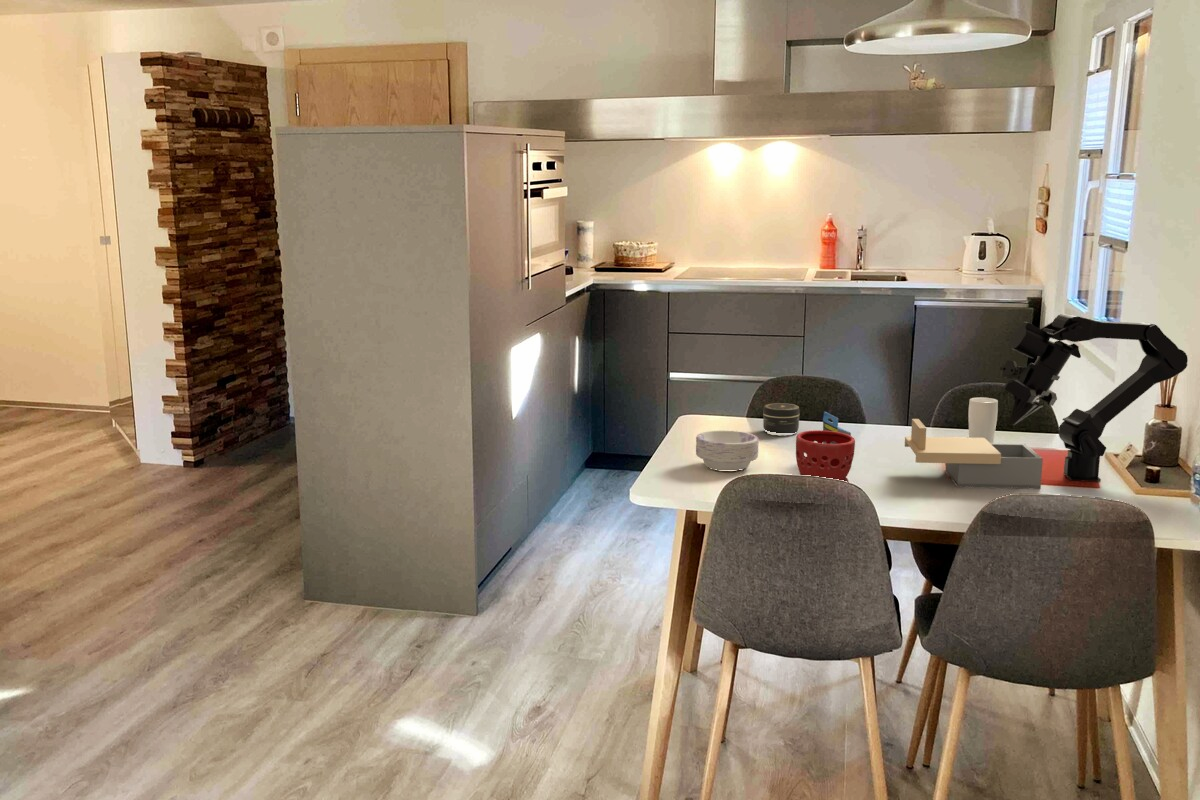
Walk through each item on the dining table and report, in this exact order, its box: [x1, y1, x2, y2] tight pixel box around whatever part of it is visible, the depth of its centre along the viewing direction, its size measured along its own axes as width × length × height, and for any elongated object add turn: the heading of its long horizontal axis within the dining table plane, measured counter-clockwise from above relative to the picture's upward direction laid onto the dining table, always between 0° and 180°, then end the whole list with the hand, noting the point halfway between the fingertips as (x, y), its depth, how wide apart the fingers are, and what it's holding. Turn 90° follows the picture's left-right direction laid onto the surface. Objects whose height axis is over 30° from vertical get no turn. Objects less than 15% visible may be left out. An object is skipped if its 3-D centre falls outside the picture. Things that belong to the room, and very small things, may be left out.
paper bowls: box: [695, 429, 760, 470], centre depth 258 cm, size 15×15×8 cm
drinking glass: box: [968, 396, 999, 443], centre depth 263 cm, size 7×7×15 cm
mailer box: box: [944, 442, 1043, 490], centre depth 244 cm, size 18×14×7 cm
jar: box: [762, 402, 800, 433], centre depth 295 cm, size 10×10×8 cm
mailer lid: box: [904, 418, 1001, 464], centre depth 244 cm, size 18×16×7 cm
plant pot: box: [795, 429, 856, 483], centre depth 240 cm, size 13×13×12 cm
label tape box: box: [822, 411, 852, 460], centre depth 261 cm, size 9×4×12 cm, turn 12°
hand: (1011, 424), depth 245 cm, fingers closed
